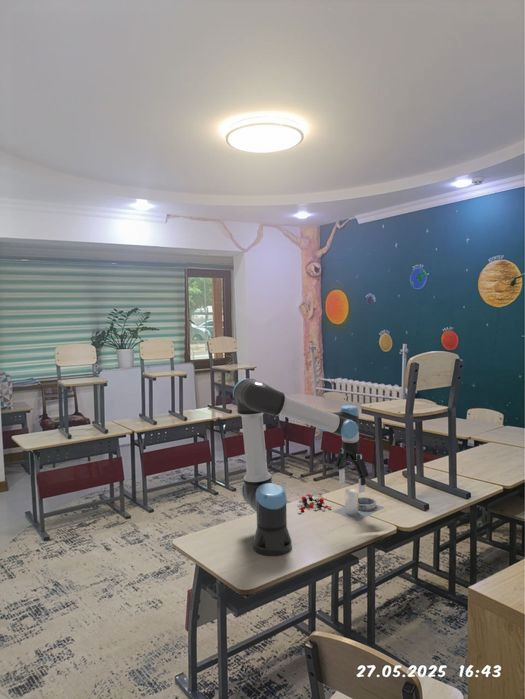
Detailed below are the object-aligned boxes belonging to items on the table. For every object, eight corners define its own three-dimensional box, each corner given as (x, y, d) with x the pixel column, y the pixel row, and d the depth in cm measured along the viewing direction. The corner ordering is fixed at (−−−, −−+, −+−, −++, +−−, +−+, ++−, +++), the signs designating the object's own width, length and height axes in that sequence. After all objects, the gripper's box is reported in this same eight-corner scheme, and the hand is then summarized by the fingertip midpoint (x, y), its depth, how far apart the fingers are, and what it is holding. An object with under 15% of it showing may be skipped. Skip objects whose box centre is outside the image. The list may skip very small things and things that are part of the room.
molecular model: (302, 501, 238) (332, 496, 235) (302, 523, 228) (334, 518, 224) (296, 487, 233) (327, 482, 229) (296, 509, 222) (328, 504, 219)
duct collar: (358, 511, 220) (358, 506, 220) (350, 503, 230) (350, 498, 230) (379, 509, 222) (379, 504, 222) (371, 501, 232) (371, 496, 231)
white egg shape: (347, 515, 216) (347, 493, 215) (343, 511, 221) (343, 489, 221) (360, 514, 217) (359, 492, 216) (355, 510, 222) (355, 488, 222)
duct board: (358, 523, 211) (358, 519, 211) (333, 514, 221) (332, 511, 221) (384, 509, 225) (384, 506, 225) (359, 501, 235) (359, 499, 235)
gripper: (376, 445, 208) (377, 493, 209) (339, 433, 230) (341, 478, 231) (362, 448, 204) (363, 497, 206) (326, 436, 226) (328, 481, 228)
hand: (351, 487), depth 218 cm, fingers open, 13 cm apart
